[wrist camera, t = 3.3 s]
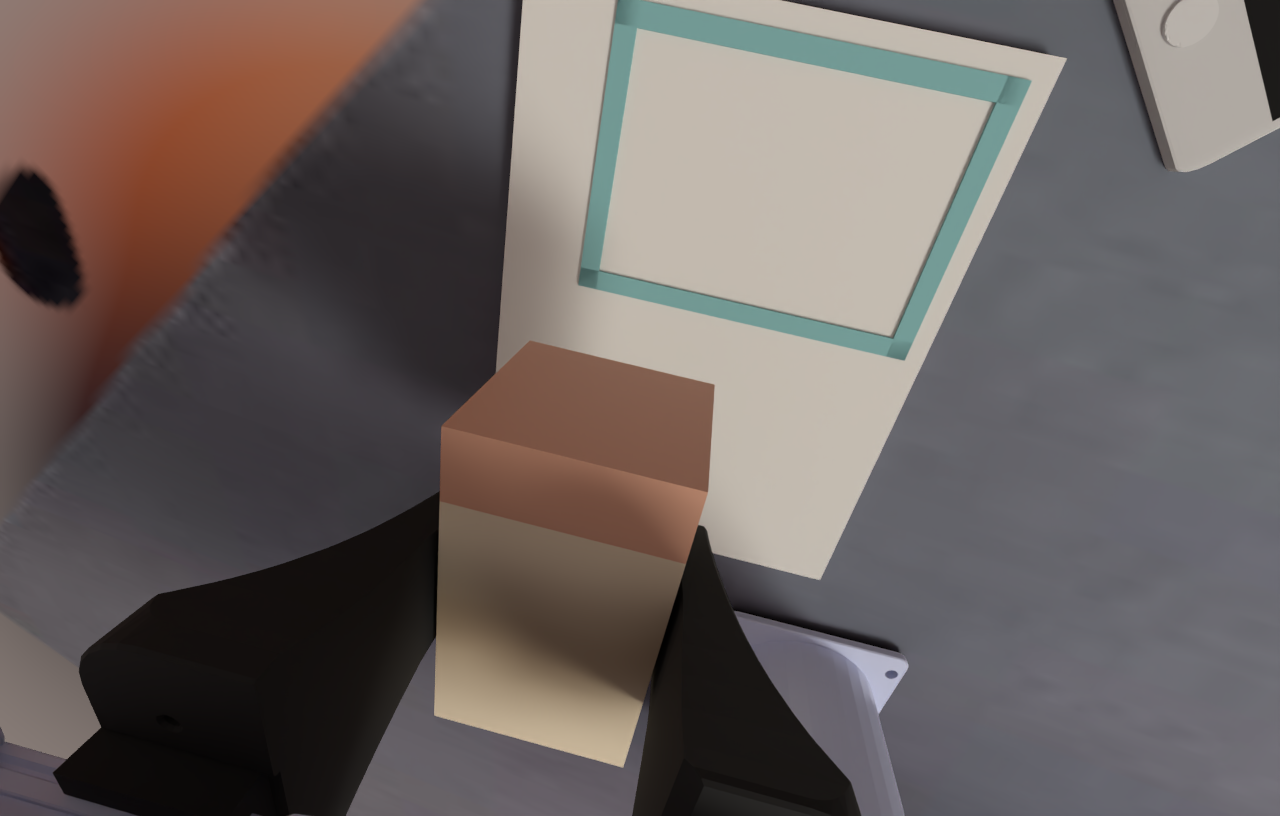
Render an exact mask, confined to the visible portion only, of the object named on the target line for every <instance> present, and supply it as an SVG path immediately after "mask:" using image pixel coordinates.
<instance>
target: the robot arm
mask: <svg viewBox="0 0 1280 816" xmlns="http://www.w3.org/2000/svg"><path fill="white" fill-rule="evenodd" d="M439 505H440V492H438V493H436V494H435V495H433V496H431V497H430V498H428V499H426V500H424V501H423V502H421V503H419V504H418V505H416V506H414V507H412V508H411V509H409V510H407V511H405V512H403V513H402V514H400V515H398V516H396V517H394V518H392V519H390V520H388V521H386V522H384V523H383V524H381V525H379V526H377V527H375V528H373V529H371V530H368V531H366V532H364V533H362V534H360V535H357V536H355V537H353V538H350V539H348V540H346V541H343V542H341V543H339V544H336V545H334V546H331V547H329V548H326V549H323V550H320V551H318V552H315V553H312V554H309V555H306V556H303V557H301V558H298V559H295V560H292V561H289V562H286V563H283V564H280V565H277V566H274V567H270V568H267V569H263V570H260V571H257V572H253V573H249V574H245V575H242V576H238V577H234V578H230V579H226V580H222V581H218V582H214V583H209V584H204V585H200V586H195V587H190V588H186V589H181V590H176V591H172V592H167V593H161V594H158V595H156V596H155V597H154V598H152V599H151V600H149V601H148V602H147V603H146V604H144V605H143V606H142V607H140V608H139V609H138V610H137V611H135V612H134V613H133V614H131V615H130V616H129V617H128V618H126V619H125V620H124V621H122V622H121V623H120V624H119V625H117V626H116V627H115V628H114V629H112V630H111V631H110V632H108V633H107V634H106V635H105V636H103V637H102V638H101V639H99V640H98V641H97V642H96V643H94V644H93V645H92V646H91V647H89V648H88V649H87V650H86V651H85V653H84V654H83V655H82V656H81V661H80V667H79V674H80V677H81V681H82V685H83V687H84V689H85V691H86V694H87V696H88V698H89V700H90V703H91V705H92V707H93V709H94V712H95V714H96V716H97V718H98V721H99V723H100V725H101V728H100V729H99V730H98V731H97V732H96V733H95V734H94V735H93V736H92V737H91V738H90V739H88V740H87V741H86V742H85V743H84V744H83V745H82V746H81V747H80V748H79V749H78V750H77V751H76V752H75V753H73V754H72V755H71V756H70V757H69V758H68V759H63V758H60V757H56V756H53V755H49V754H46V753H42V752H39V751H36V750H32V749H29V748H25V747H22V746H18V745H15V744H11V743H8V742H4V734H3V732H2V729H1V728H0V816H346V814H347V812H348V809H349V807H350V805H351V803H352V800H353V798H354V796H355V794H356V792H357V789H358V787H359V785H360V783H361V781H362V779H363V777H364V775H365V772H366V770H367V768H368V766H369V764H370V762H371V760H372V758H373V755H374V753H375V751H376V749H377V747H378V745H379V743H380V741H381V739H382V737H383V735H384V733H385V731H386V729H387V727H388V725H389V723H390V721H391V719H392V716H393V714H394V712H395V710H396V708H397V706H398V704H399V702H400V700H401V698H402V696H403V695H404V693H405V691H406V689H407V687H408V685H409V683H410V681H411V679H412V677H413V675H414V673H415V671H416V669H417V667H418V665H419V664H420V662H421V660H422V658H423V657H424V655H425V653H426V652H427V650H428V648H429V647H430V645H431V643H432V642H433V640H434V639H435V637H436V628H437V587H438V546H439ZM907 669H908V663H907V660H906V657H905V656H904V655H903V654H901V653H899V652H895V651H891V650H887V649H883V648H879V647H875V646H871V645H868V644H864V643H860V642H856V641H852V640H848V639H844V638H840V637H836V636H832V635H829V634H825V633H821V632H817V631H813V630H809V629H805V628H801V627H797V626H793V625H790V624H786V623H782V622H778V621H774V620H770V619H766V618H762V617H758V616H754V615H751V614H747V613H743V612H739V611H734V610H733V608H732V606H731V603H730V601H729V599H728V596H727V593H726V591H725V588H724V586H723V583H722V580H721V578H720V575H719V572H718V569H717V566H716V563H715V560H714V556H713V553H712V549H711V546H710V542H709V537H708V532H707V530H706V528H705V527H704V526H701V525H698V527H697V530H696V533H695V536H694V540H693V543H692V546H691V549H690V553H689V556H688V559H687V562H686V566H685V569H684V572H683V575H682V578H681V582H680V585H679V588H678V591H677V595H676V598H675V601H674V604H673V608H672V611H671V614H670V617H669V621H668V624H667V627H666V630H665V633H664V637H663V640H662V643H661V646H660V650H659V653H658V656H657V659H656V663H655V666H654V669H653V672H652V680H651V694H650V707H649V716H648V724H647V731H646V737H645V743H644V749H643V755H642V761H641V767H640V773H639V779H638V785H637V791H636V797H635V803H634V809H633V815H632V816H905V814H904V810H903V807H902V803H901V799H900V795H899V791H898V788H897V784H896V780H895V776H894V772H893V769H892V765H891V761H890V757H889V753H888V750H887V746H886V742H885V738H884V734H883V731H882V727H881V723H880V719H879V715H878V714H879V713H880V711H881V709H882V708H883V706H884V705H885V703H886V702H887V700H888V699H889V697H890V695H891V694H892V692H893V691H894V689H895V688H896V686H897V685H898V683H899V681H900V680H901V678H902V677H903V675H904V674H905V672H906V671H907ZM890 670H891V671H890Z"/></svg>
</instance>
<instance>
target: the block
mask: <svg viewBox="0 0 1280 816" xmlns="http://www.w3.org/2000/svg"><path fill="white" fill-rule="evenodd" d="M714 389H715V385H714V384H710V383H706V382H702V381H698V380H693V379H689V378H685V377H681V376H677V375H672V374H668V373H664V372H660V371H656V370H652V369H647V368H643V367H639V366H635V365H631V364H626V363H622V362H618V361H614V360H610V359H606V358H601V357H597V356H593V355H589V354H585V353H580V352H576V351H572V350H568V349H564V348H560V347H555V346H551V345H547V344H543V343H539V342H534V341H529V342H528V343H527V344H526V345H525V346H523V347H522V348H521V349H520V350H519V351H518V352H517V353H516V354H515V355H514V356H513V357H512V358H511V359H510V360H509V361H508V362H507V363H506V364H505V365H504V366H503V367H502V368H501V369H500V370H499V371H498V372H497V373H496V374H495V375H494V376H493V377H492V378H490V379H489V380H488V381H487V382H486V383H485V384H484V385H483V386H482V387H481V388H480V389H479V390H478V391H477V392H476V393H475V394H474V395H473V396H472V397H471V398H470V399H469V400H468V401H467V402H466V403H465V404H464V405H463V406H462V407H461V408H460V409H459V410H457V411H456V412H455V413H454V414H453V415H452V416H451V417H450V418H449V419H448V420H447V421H446V422H445V423H444V424H443V425H442V426H441V464H440V505H439V546H438V587H437V628H436V668H435V709H434V716H438V717H442V718H445V719H449V720H452V721H456V722H460V723H463V724H467V725H471V726H474V727H478V728H481V729H485V730H489V731H492V732H496V733H500V734H503V735H507V736H511V737H514V738H518V739H521V740H525V741H529V742H532V743H536V744H540V745H543V746H547V747H550V748H554V749H558V750H561V751H565V752H569V753H572V754H576V755H579V756H583V757H587V758H590V759H594V760H598V761H601V762H605V763H608V764H612V765H616V766H619V767H623V766H624V763H625V760H626V756H627V753H628V750H629V747H630V743H631V740H632V737H633V734H634V730H635V727H636V724H637V721H638V718H639V714H640V711H641V708H642V705H643V701H644V698H645V695H646V692H647V688H648V685H649V682H650V679H651V675H652V672H653V669H654V666H655V663H656V659H657V656H658V653H659V650H660V646H661V643H662V640H663V637H664V633H665V630H666V627H667V624H668V621H669V617H670V614H671V611H672V608H673V604H674V601H675V598H676V595H677V591H678V588H679V585H680V582H681V578H682V575H683V572H684V569H685V566H686V562H687V559H688V556H689V553H690V549H691V546H692V543H693V540H694V536H695V533H696V530H697V527H698V524H699V520H700V517H701V514H702V511H703V507H704V504H705V501H706V498H707V494H708V486H709V470H710V454H711V438H712V421H713V405H714Z"/></svg>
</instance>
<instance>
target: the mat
mask: <svg viewBox="0 0 1280 816" xmlns="http://www.w3.org/2000/svg"><path fill="white" fill-rule="evenodd" d="M1066 59H1067V58H1062V57H1057V56H1052V55H1047V54H1042V53H1037V52H1032V51H1028V50H1023V49H1018V48H1013V47H1008V46H1003V45H998V44H993V43H988V42H983V41H978V40H973V39H969V38H964V37H959V36H954V35H949V34H944V33H939V32H934V31H929V30H924V29H919V28H915V27H910V26H905V25H900V24H895V23H890V22H885V21H880V20H875V19H870V18H865V17H860V16H856V15H851V14H846V13H841V12H836V11H831V10H826V9H821V8H816V7H811V6H806V5H802V4H797V3H792V2H787V1H782V0H523V4H522V18H521V32H520V46H519V60H518V73H517V87H516V101H515V115H514V128H513V142H512V156H511V170H510V184H509V197H508V211H507V225H506V239H505V252H504V266H503V280H502V294H501V307H500V321H499V335H498V349H497V363H496V373H497V372H498V371H499V370H500V369H501V368H502V367H503V366H504V365H505V364H506V363H507V362H508V361H509V360H510V359H511V358H512V357H513V356H514V355H515V354H516V353H517V352H518V351H519V350H520V349H521V348H522V347H523V346H525V345H526V344H527V343H528V342H529V341H534V342H539V343H543V344H547V345H551V346H555V347H560V348H564V349H568V350H572V351H576V352H580V353H585V354H589V355H593V356H597V357H601V358H606V359H610V360H614V361H618V362H622V363H626V364H631V365H635V366H639V367H643V368H647V369H652V370H656V371H660V372H664V373H668V374H672V375H677V376H681V377H685V378H689V379H693V380H698V381H702V382H706V383H710V384H714V385H715V389H714V405H713V421H712V438H711V454H710V470H709V486H708V494H707V498H706V501H705V504H704V507H703V511H702V514H701V517H700V520H699V524H698V525H701V526H704V527H705V528H706V530H707V532H708V537H709V542H710V546H711V549H712V553H714V554H718V555H722V556H726V557H730V558H734V559H738V560H742V561H746V562H750V563H754V564H758V565H762V566H766V567H770V568H774V569H778V570H782V571H786V572H790V573H794V574H798V575H802V576H806V577H810V578H814V579H818V580H820V579H821V577H822V575H823V573H824V571H825V568H826V566H827V564H828V562H829V560H830V558H831V556H832V554H833V552H834V549H835V547H836V545H837V543H838V541H839V539H840V537H841V535H842V532H843V530H844V528H845V526H846V524H847V522H848V520H849V518H850V516H851V513H852V511H853V509H854V507H855V505H856V503H857V501H858V499H859V497H860V494H861V492H862V490H863V488H864V486H865V484H866V482H867V480H868V478H869V475H870V473H871V471H872V469H873V467H874V465H875V463H876V461H877V459H878V456H879V454H880V452H881V450H882V448H883V446H884V444H885V442H886V440H887V437H888V435H889V433H890V431H891V429H892V427H893V425H894V423H895V421H896V418H897V416H898V414H899V412H900V410H901V408H902V406H903V404H904V402H905V399H906V397H907V395H908V393H909V391H910V389H911V387H912V385H913V383H914V380H915V378H916V376H917V374H918V372H919V370H920V368H921V366H922V364H923V361H924V359H925V357H926V355H927V353H928V351H929V349H930V347H931V345H932V342H933V340H934V338H935V336H936V334H937V332H938V330H939V328H940V325H941V323H942V321H943V319H944V317H945V315H946V313H947V311H948V309H949V306H950V304H951V302H952V300H953V298H954V296H955V294H956V292H957V290H958V287H959V285H960V283H961V281H962V279H963V277H964V275H965V273H966V271H967V268H968V266H969V264H970V262H971V260H972V258H973V256H974V254H975V252H976V249H977V247H978V245H979V243H980V241H981V239H982V237H983V235H984V233H985V230H986V228H987V226H988V224H989V222H990V220H991V218H992V216H993V214H994V211H995V209H996V207H997V205H998V203H999V201H1000V199H1001V197H1002V195H1003V192H1004V190H1005V188H1006V186H1007V184H1008V182H1009V180H1010V178H1011V176H1012V173H1013V171H1014V169H1015V167H1016V165H1017V163H1018V161H1019V159H1020V157H1021V154H1022V152H1023V150H1024V148H1025V146H1026V144H1027V142H1028V140H1029V138H1030V135H1031V133H1032V131H1033V129H1034V127H1035V125H1036V123H1037V121H1038V118H1039V116H1040V114H1041V112H1042V110H1043V108H1044V106H1045V104H1046V102H1047V99H1048V97H1049V95H1050V93H1051V91H1052V89H1053V87H1054V85H1055V83H1056V80H1057V78H1058V76H1059V74H1060V72H1061V70H1062V68H1063V66H1064V64H1065V61H1066Z"/></svg>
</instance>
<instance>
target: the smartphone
mask: <svg viewBox="0 0 1280 816" xmlns="http://www.w3.org/2000/svg"><path fill="white" fill-rule="evenodd" d="M1113 2H1114V5H1115V8H1116V11H1117V14H1118V18H1119V21H1120V24H1121V27H1122V31H1123V34H1124V37H1125V40H1126V43H1127V47H1128V50H1129V53H1130V56H1131V59H1132V63H1133V66H1134V69H1135V72H1136V76H1137V79H1138V82H1139V85H1140V88H1141V92H1142V95H1143V98H1144V101H1145V104H1146V108H1147V111H1148V114H1149V117H1150V121H1151V124H1152V127H1153V130H1154V133H1155V137H1156V140H1157V143H1158V146H1159V149H1160V153H1161V156H1162V159H1163V162H1164V165H1165V168H1166V169H1167V170H1168V171H1175V172H1189V171H1192V170H1196V169H1199V168H1202V167H1204V166H1206V165H1208V164H1211V163H1213V162H1214V161H1216V160H1218V159H1220V158H1222V157H1224V156H1226V155H1228V154H1230V153H1232V152H1234V151H1236V150H1238V149H1239V148H1241V147H1243V146H1245V145H1247V144H1249V143H1251V142H1253V141H1255V140H1257V139H1259V138H1261V137H1263V136H1265V135H1266V134H1268V133H1270V132H1272V131H1274V130H1276V129H1278V128H1280V0H1113Z"/></svg>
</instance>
